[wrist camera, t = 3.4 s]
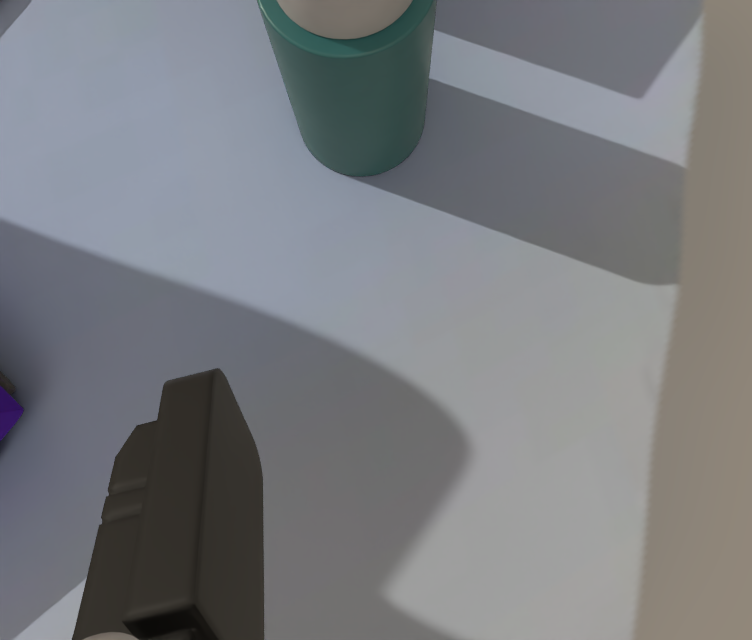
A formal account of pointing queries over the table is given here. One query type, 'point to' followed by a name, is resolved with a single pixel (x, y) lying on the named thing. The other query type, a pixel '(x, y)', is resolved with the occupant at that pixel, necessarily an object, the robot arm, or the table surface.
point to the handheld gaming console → (8, 406)
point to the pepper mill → (355, 76)
